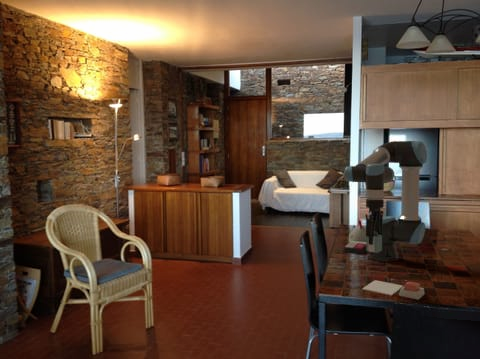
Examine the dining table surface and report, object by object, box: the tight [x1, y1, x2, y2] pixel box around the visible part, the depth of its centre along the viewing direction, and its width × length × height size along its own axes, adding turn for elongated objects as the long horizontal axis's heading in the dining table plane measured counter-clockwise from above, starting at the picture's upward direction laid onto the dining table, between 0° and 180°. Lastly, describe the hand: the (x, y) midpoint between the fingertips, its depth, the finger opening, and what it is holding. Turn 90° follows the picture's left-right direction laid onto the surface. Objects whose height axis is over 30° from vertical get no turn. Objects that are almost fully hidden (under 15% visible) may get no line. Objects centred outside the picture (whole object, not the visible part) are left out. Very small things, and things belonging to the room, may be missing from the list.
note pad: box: [362, 279, 404, 297], centre depth 197 cm, size 14×13×1 cm
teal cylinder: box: [366, 232, 382, 253], centre depth 197 cm, size 5×5×8 cm
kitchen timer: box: [348, 219, 367, 244], centre depth 277 cm, size 14×14×15 cm
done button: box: [403, 281, 421, 291], centre depth 188 cm, size 5×5×2 cm
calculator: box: [343, 241, 367, 255], centre depth 263 cm, size 11×4×15 cm
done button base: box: [398, 286, 425, 301], centre depth 188 cm, size 8×8×3 cm
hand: (374, 250), depth 197 cm, fingers closed on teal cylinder, 5 cm apart
